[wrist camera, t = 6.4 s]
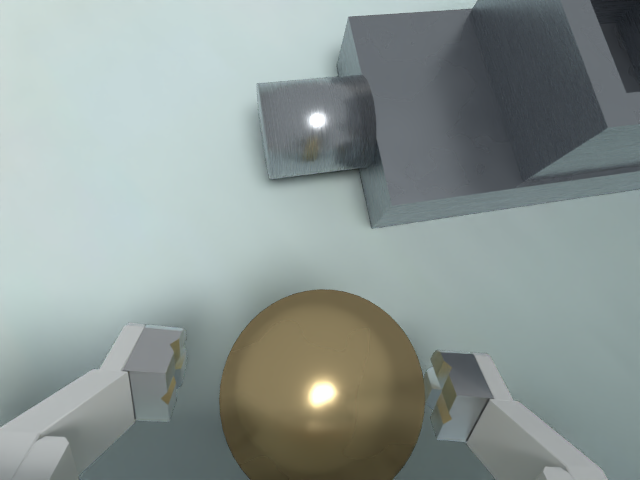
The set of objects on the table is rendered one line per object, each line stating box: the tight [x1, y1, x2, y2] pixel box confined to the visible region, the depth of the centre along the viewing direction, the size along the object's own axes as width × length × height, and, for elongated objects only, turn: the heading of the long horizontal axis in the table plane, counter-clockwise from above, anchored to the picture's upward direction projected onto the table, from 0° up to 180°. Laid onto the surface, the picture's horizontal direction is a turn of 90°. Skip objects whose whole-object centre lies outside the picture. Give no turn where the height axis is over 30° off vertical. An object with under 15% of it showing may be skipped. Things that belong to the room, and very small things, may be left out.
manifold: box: [257, 0, 640, 228], centre depth 16 cm, size 26×8×7 cm, turn 100°
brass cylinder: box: [219, 290, 425, 480], centre depth 12 cm, size 4×4×8 cm
